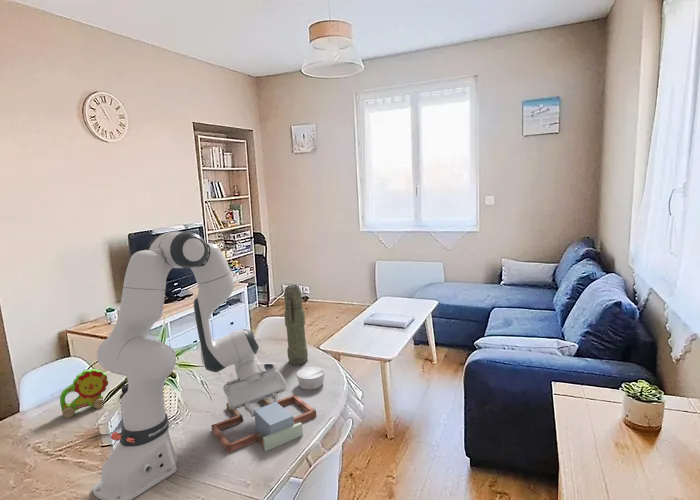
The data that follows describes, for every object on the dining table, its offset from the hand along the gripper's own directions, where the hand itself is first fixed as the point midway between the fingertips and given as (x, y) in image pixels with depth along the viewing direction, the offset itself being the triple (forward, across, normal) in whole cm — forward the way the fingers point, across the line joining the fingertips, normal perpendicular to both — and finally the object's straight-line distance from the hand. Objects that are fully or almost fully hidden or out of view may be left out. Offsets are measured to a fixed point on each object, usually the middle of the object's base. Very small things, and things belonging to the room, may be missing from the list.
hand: (265, 411), depth 145 cm
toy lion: (-36, -48, +43) cm, 73 cm away
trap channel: (+1, 0, +6) cm, 6 cm away
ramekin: (-7, +26, +14) cm, 31 cm away
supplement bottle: (-23, -35, +30) cm, 51 cm away
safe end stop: (+13, 0, -6) cm, 14 cm away
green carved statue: (-24, +34, +31) cm, 51 cm away
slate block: (+8, 0, -2) cm, 8 cm away
